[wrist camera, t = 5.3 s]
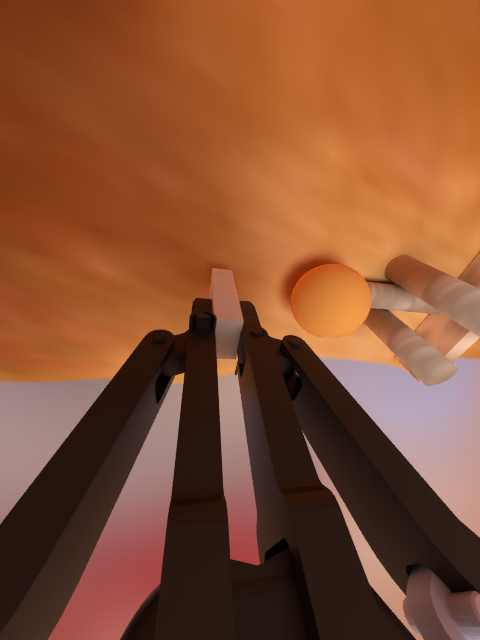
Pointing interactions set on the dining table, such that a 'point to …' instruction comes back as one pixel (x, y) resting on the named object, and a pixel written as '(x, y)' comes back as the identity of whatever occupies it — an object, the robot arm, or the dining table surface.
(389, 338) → the pin
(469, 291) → the pin
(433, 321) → the back wall
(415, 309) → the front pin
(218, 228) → the dining table surface
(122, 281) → the dining table surface
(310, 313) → the ball
